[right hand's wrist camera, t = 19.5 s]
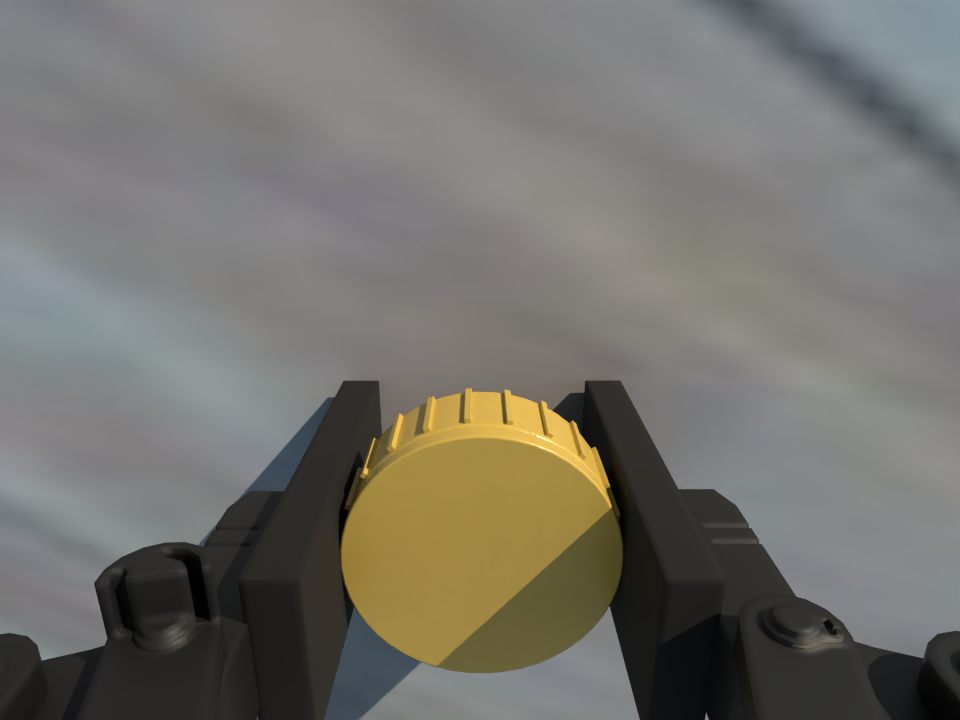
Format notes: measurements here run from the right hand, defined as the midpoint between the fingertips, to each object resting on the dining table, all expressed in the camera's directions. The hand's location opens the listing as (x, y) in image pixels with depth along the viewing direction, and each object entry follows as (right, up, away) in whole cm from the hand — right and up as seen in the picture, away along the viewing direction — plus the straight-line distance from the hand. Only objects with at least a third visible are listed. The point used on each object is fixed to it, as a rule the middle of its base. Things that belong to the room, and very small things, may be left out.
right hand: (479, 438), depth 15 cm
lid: (0, -1, -4) cm, 4 cm away
